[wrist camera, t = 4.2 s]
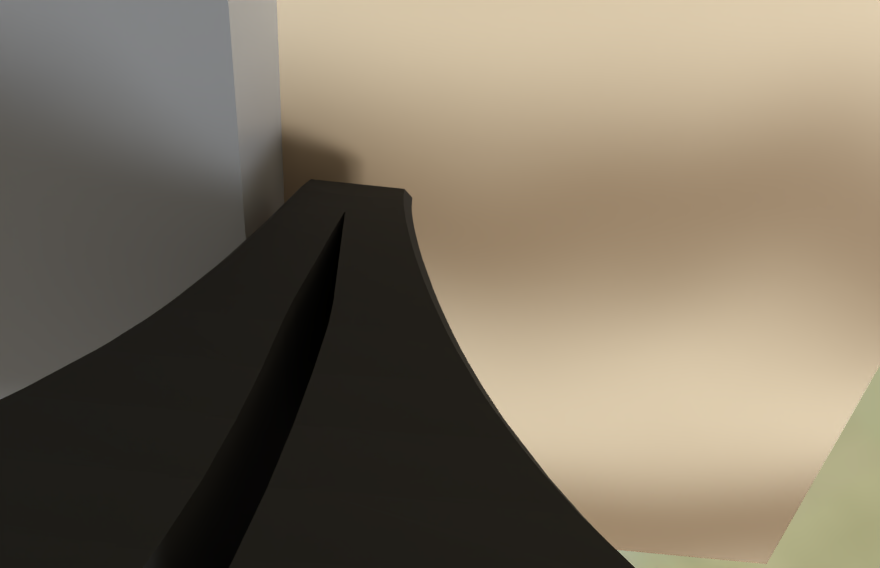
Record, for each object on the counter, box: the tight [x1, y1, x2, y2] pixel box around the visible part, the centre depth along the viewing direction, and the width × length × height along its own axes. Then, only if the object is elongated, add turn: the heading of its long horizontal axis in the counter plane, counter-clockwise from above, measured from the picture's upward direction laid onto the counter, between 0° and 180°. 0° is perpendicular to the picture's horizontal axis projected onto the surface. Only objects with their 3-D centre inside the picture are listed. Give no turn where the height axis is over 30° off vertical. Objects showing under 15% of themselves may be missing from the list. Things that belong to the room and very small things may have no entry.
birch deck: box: [277, 0, 880, 564], centre depth 13 cm, size 14×14×4 cm
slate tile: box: [0, 0, 284, 399], centre depth 10 cm, size 9×6×2 cm, turn 175°
